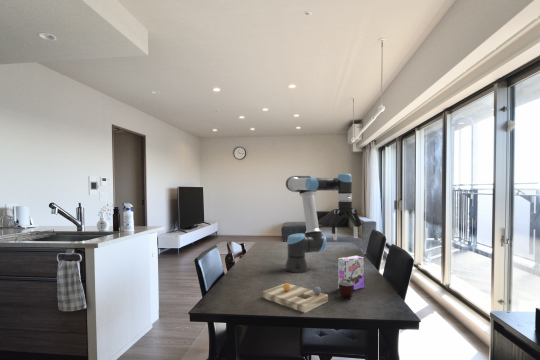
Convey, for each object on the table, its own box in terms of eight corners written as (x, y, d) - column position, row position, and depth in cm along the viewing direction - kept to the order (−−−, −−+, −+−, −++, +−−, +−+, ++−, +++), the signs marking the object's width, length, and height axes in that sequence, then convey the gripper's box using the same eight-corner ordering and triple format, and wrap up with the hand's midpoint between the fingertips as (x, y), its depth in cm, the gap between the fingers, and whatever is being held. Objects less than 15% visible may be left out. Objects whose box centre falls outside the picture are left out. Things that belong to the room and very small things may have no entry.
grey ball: (312, 294, 137) (311, 286, 137) (316, 292, 140) (316, 285, 140) (318, 296, 134) (318, 288, 135) (322, 294, 137) (322, 286, 137)
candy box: (345, 292, 148) (344, 260, 149) (337, 289, 154) (337, 257, 154) (365, 288, 155) (364, 257, 155) (357, 284, 160) (356, 255, 161)
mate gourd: (336, 296, 143) (335, 265, 144) (349, 293, 146) (348, 263, 147) (345, 301, 136) (345, 269, 137) (359, 298, 139) (358, 267, 140)
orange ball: (281, 290, 142) (281, 283, 143) (286, 289, 145) (286, 281, 145) (287, 292, 140) (287, 285, 140) (291, 290, 143) (291, 283, 143)
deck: (262, 297, 142) (262, 291, 142) (286, 288, 154) (286, 282, 155) (304, 313, 123) (304, 305, 124) (328, 301, 136) (328, 294, 136)
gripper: (329, 201, 155) (329, 241, 154) (367, 200, 163) (368, 238, 163) (322, 201, 162) (322, 239, 161) (359, 200, 170) (359, 236, 170)
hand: (345, 238), depth 162 cm, fingers open, 13 cm apart
